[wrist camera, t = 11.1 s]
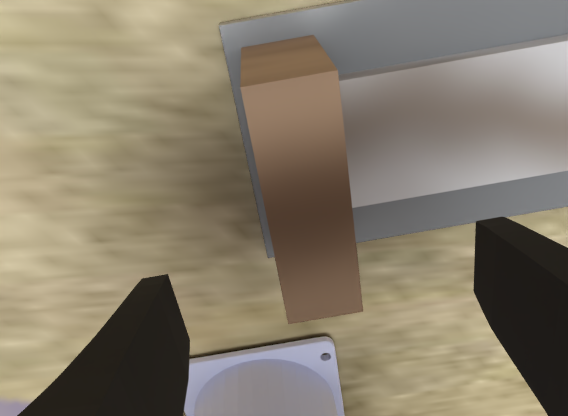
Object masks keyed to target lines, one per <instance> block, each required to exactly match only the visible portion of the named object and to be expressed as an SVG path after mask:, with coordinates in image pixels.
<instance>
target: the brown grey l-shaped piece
mask: <svg viewBox="0 0 568 416" xmlns="http://www.w3.org/2000/svg"><path fill="white" fill-rule="evenodd" d="M240 88H241V93H242V98H243V103H244V108H245V113H246V118H247V123H248V128H249V132H250V137H251V142H252V147H253V152H254V157H255V162H256V167H257V172H258V177H259V182H260V187H261V192H262V197H263V201H264V206H265V211H266V216H267V221H268V226H269V231H270V236H271V241H272V246H273V251H274V256H275V261H276V266H277V270H278V275H279V280H280V285H281V290H282V295H283V300H284V305H285V310H286V315H287V320H288V324H292V323H298V322H304V321H310V320H316V319H321V318H327V317H333V316H339V315H345V314H351V313H357V312H362V311H363V305H362V296H361V286H360V276H359V267H358V257H357V248H356V238H355V229H354V219H353V210H352V208H355V207H361V206H366V205H372V204H378V203H384V202H390V201H395V200H401V199H407V198H413V197H418V196H424V195H430V194H436V193H441V192H447V191H453V190H459V189H465V188H470V187H476V186H482V185H488V184H493V183H499V182H505V181H511V180H516V179H522V178H528V177H534V176H540V175H545V174H551V173H557V172H563V171H568V34H566V35H560V36H555V37H549V38H544V39H538V40H532V41H527V42H521V43H515V44H510V45H504V46H498V47H493V48H487V49H481V50H476V51H470V52H464V53H459V54H453V55H447V56H442V57H436V58H431V59H425V60H419V61H414V62H408V63H402V64H397V65H391V66H385V67H380V68H374V69H368V70H363V71H357V72H351V73H346V74H340V75H338V70H337V68H336V67H335V65H334V64H333V62H332V61H331V59H330V58H329V57H328V55H327V54H326V52H325V51H324V49H323V48H322V46H321V45H320V43H319V42H318V40H317V39H316V38H315V36H314V35H309V36H303V37H298V38H292V39H286V40H281V41H275V42H270V43H264V44H258V45H253V46H247V47H242V48H241V80H240Z"/></svg>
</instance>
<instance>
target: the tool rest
mask: <svg viewBox="0 0 568 416" xmlns="http://www.w3.org/2000/svg"><path fill="white" fill-rule="evenodd" d="M219 28H220V33H221V38H222V43H223V47H224V52H225V57H226V62H227V66H228V71H229V76H230V81H231V85H232V90H233V95H234V100H235V104H236V109H237V114H238V119H239V123H240V128H241V133H242V138H243V142H244V147H245V152H246V156H247V161H248V166H249V171H250V175H251V180H252V185H253V190H254V194H255V199H256V204H257V209H258V213H259V218H260V223H261V228H262V232H263V237H264V242H265V247H266V251H267V256H268V258H271V257H275V256H274V251H273V246H272V241H271V236H270V231H269V226H268V221H267V216H266V211H265V206H264V201H263V197H262V192H261V187H260V182H259V177H258V172H257V167H256V162H255V157H254V152H253V147H252V142H251V137H250V132H249V128H248V123H247V118H246V113H245V108H244V103H243V98H242V93H241V88H240V80H241V48H242V47H247V46H253V45H258V44H264V43H270V42H275V41H281V40H286V39H292V38H298V37H303V36H309V35H314V36H315V38H316V39H317V40H318V42H319V43H320V45H321V46H322V48H323V49H324V51H325V52H326V54H327V55H328V57H329V58H330V59H331V61H332V62H333V64H334V65H335V67H336V68H337V70H338V75H340V74H346V73H351V72H357V71H363V70H368V69H374V68H380V67H385V66H391V65H397V64H402V63H408V62H414V61H419V60H425V59H431V58H436V57H442V56H447V55H453V54H459V53H464V52H470V51H476V50H481V49H487V48H493V47H498V46H504V45H510V44H515V43H521V42H527V41H532V40H538V39H544V38H549V37H555V36H560V35H566V34H568V0H345V1H340V2H334V3H328V4H323V5H317V6H312V7H306V8H300V9H295V10H289V11H284V12H278V13H272V14H267V15H261V16H256V17H250V18H244V19H239V20H233V21H228V22H222V23H220V24H219ZM562 207H568V171H563V172H557V173H551V174H545V175H540V176H534V177H528V178H522V179H516V180H511V181H505V182H499V183H493V184H488V185H482V186H476V187H470V188H465V189H459V190H453V191H447V192H441V193H436V194H430V195H424V196H418V197H413V198H407V199H401V200H395V201H390V202H384V203H378V204H372V205H366V206H361V207H355V208H352V210H353V219H354V229H355V238H356V243H359V242H364V241H370V240H376V239H382V238H388V237H393V236H399V235H405V234H411V233H417V232H423V231H428V230H434V229H440V228H446V227H452V226H457V225H463V224H469V223H475V222H476V221H479V220H485V219H491V218H496V217H510V216H516V215H521V214H527V213H533V212H539V211H545V210H550V209H556V208H562Z"/></svg>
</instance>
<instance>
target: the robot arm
mask: <svg viewBox="0 0 568 416" xmlns="http://www.w3.org/2000/svg"><path fill="white" fill-rule="evenodd" d="M474 293H475V295H476V297H477V300H478V302H479V304H480V306H481V308H482V310H483V313H484V315H485V317H486V319H487V321H488V323H489V325H490V327H491V329H492V330H493V332H494V333H495V335H496V337H497V338H498V340H499V341H500V343H501V344H502V346H503V347H504V349H505V350H506V352H507V354H508V355H509V357H510V358H511V360H512V361H513V363H514V364H515V366H516V367H517V369H518V370H519V372H520V373H521V375H522V376H523V378H524V379H525V381H526V382H527V384H528V385H529V387H530V388H531V390H532V391H533V393H534V394H535V396H536V397H537V399H538V401H539V402H540V404H541V405H542V407H543V408H544V410H545V411H546V413H547V415H548V416H568V248H567V247H565V246H563V245H561V244H559V243H557V242H555V241H553V240H551V239H549V238H547V237H545V236H543V235H541V234H539V233H537V232H535V231H533V230H531V229H529V228H527V227H525V226H523V225H520V224H518V223H516V222H514V221H512V220H510V219H507V218H505V217H496V218H491V219H485V220H479V221H476V236H475V266H474ZM189 351H190V339H189V336H188V333H187V330H186V327H185V324H184V321H183V318H182V315H181V312H180V309H179V306H178V303H177V300H176V297H175V294H174V291H173V288H172V285H171V282H170V279H169V276H168V274H166V275H160V276H155V277H149V278H143V279H141V281H140V282H139V283H138V284H137V285H136V286H135V288H134V289H133V290H132V291H131V293H130V294H129V295H128V296H127V298H126V299H125V300H124V301H123V303H122V304H121V305H120V306H119V308H118V309H117V310H116V311H115V313H114V314H113V315H112V316H111V318H110V319H109V320H108V321H107V322H106V324H105V325H104V326H103V327H102V328H101V330H100V331H99V332H98V333H97V335H96V336H95V337H94V338H93V339H92V340H91V342H90V343H89V344H88V345H87V346H86V347H85V348H84V349H83V350H82V351H81V353H80V354H79V355H78V356H77V357H76V358H75V359H74V360H73V361H72V362H71V364H70V365H69V366H68V367H67V368H66V369H65V370H64V371H63V372H62V373H61V374H60V375H59V377H58V378H57V379H56V380H55V381H54V382H53V383H52V384H51V385H50V386H49V387H48V388H47V389H46V390H45V391H43V392H42V393H41V394H40V395H39V396H38V397H37V398H36V399H35V400H34V401H33V402H32V403H31V404H30V405H28V406H27V407H26V408H25V409H24V410H23V411H22V412H21V413H20V414H19V415H17V416H183V412H184V411H185V414H186V416H345V414H344V407H343V400H342V394H341V387H340V380H339V373H338V366H337V360H336V353H335V346H334V342H333V340H332V339H331V338H329V337H317V338H311V339H305V340H300V341H294V342H288V343H282V344H276V345H270V346H264V347H258V348H252V349H247V350H241V351H235V352H229V353H223V354H217V355H211V356H205V357H199V358H193V359H189ZM324 353H328V354H326V355H322V354H324Z"/></svg>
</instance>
